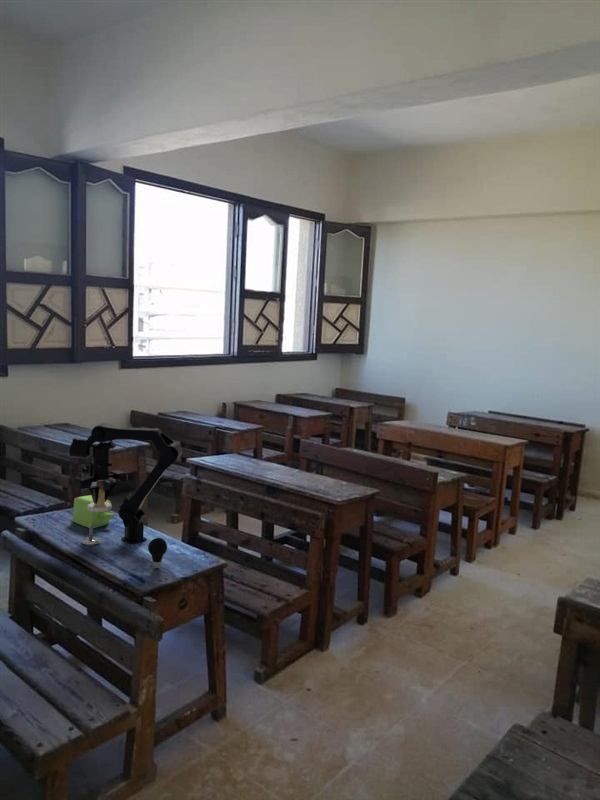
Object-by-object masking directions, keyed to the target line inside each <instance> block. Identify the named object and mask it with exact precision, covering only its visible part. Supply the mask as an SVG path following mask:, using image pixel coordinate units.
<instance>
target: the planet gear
mask: <svg viewBox="0 0 600 800" xmlns="http://www.w3.org/2000/svg"><path fill="white" fill-rule="evenodd" d="M112 508H113V506H112V503H109V502H105V491H104V490H103V489H99V494H98V501H97V504H94V503H90V504H88V510H91V511H96V512H100V511H102V512H105V511H109V510H110V511H111V509H112Z"/></svg>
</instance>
